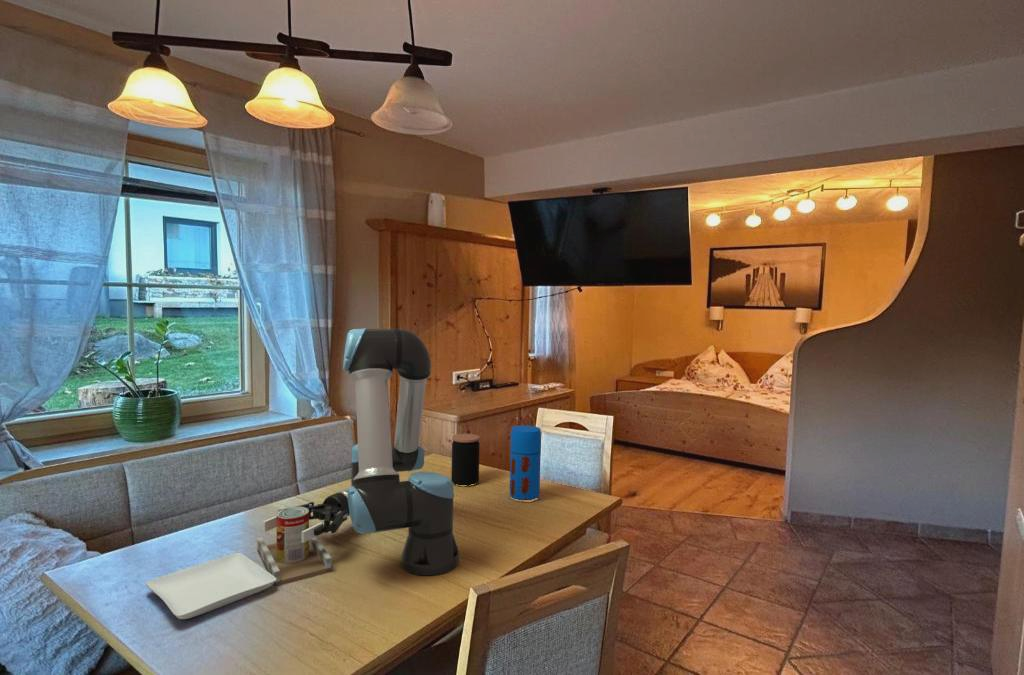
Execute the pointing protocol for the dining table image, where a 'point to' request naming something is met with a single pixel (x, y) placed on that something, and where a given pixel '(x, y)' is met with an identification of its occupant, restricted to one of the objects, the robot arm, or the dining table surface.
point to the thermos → (525, 462)
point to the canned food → (292, 534)
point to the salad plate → (210, 585)
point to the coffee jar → (465, 459)
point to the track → (292, 572)
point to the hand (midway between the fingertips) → (282, 531)
